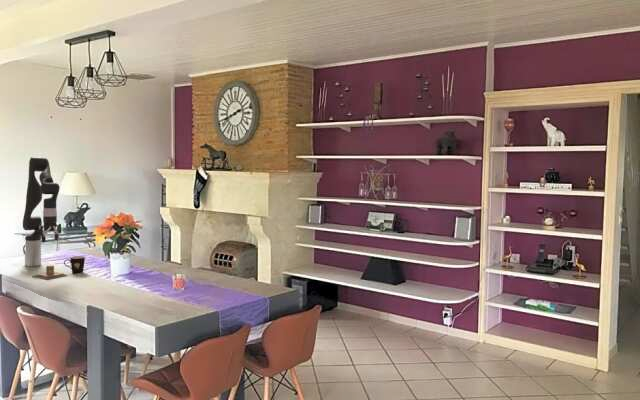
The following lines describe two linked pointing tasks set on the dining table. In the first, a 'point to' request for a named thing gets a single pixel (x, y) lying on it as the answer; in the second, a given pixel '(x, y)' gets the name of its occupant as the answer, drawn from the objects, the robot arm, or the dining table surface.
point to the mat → (49, 278)
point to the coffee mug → (76, 264)
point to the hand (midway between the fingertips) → (50, 241)
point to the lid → (50, 272)
